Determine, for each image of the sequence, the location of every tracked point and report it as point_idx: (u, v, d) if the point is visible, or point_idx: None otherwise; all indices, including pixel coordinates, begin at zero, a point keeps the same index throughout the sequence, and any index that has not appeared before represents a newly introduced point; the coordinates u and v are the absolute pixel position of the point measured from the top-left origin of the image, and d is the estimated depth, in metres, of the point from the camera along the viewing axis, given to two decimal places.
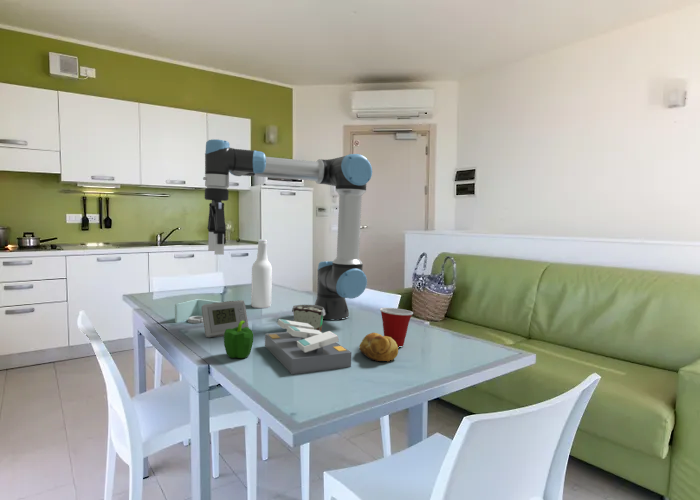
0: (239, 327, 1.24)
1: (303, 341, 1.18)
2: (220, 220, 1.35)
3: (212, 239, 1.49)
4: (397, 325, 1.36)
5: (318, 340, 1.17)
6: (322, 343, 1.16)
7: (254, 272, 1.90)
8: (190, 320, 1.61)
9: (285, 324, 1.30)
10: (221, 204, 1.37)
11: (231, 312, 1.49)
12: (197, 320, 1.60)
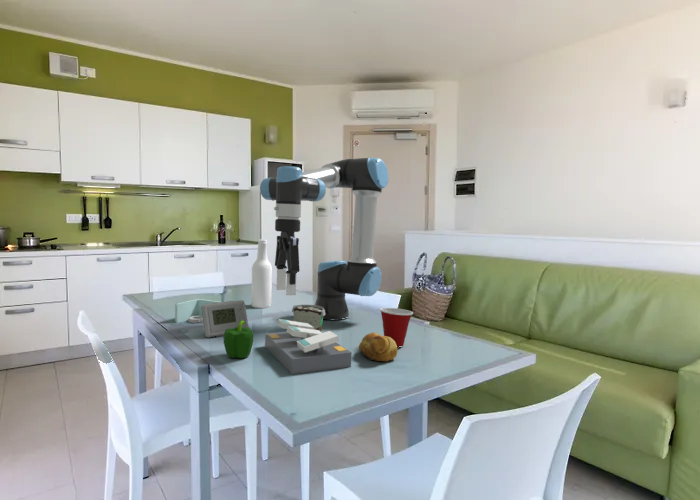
0: (239, 327, 1.24)
1: (303, 341, 1.18)
2: (294, 259, 1.25)
3: (281, 277, 1.36)
4: (397, 325, 1.36)
5: (318, 340, 1.17)
6: (322, 343, 1.16)
7: (254, 272, 1.90)
8: (191, 320, 1.61)
9: (285, 324, 1.30)
10: (296, 240, 1.26)
11: (231, 313, 1.48)
12: (197, 320, 1.61)
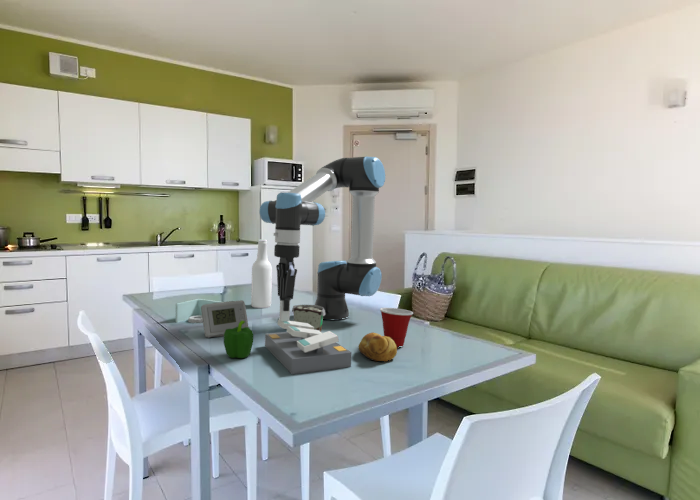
0: (239, 327, 1.24)
1: (303, 341, 1.18)
2: (290, 289, 1.28)
3: None
4: (397, 325, 1.36)
5: (318, 340, 1.17)
6: (322, 343, 1.16)
7: (254, 272, 1.90)
8: (191, 320, 1.61)
9: (285, 324, 1.30)
10: (294, 272, 1.27)
11: (231, 313, 1.48)
12: (198, 320, 1.61)
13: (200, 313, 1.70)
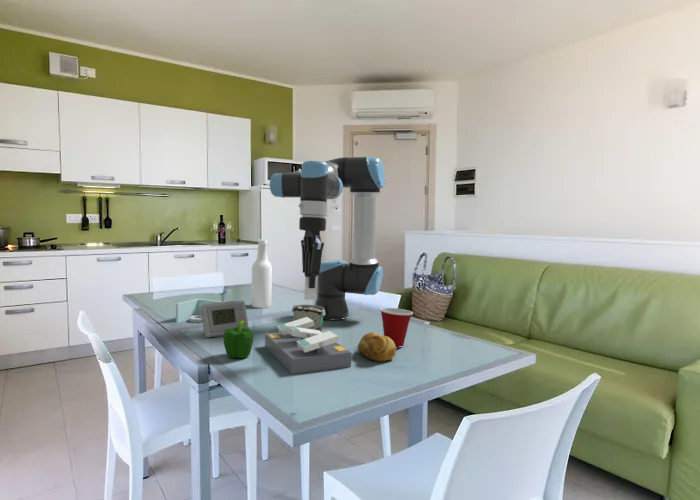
0: (239, 327, 1.24)
1: (303, 341, 1.18)
2: (316, 264, 1.20)
3: None
4: (397, 325, 1.36)
5: (318, 340, 1.17)
6: (322, 343, 1.16)
7: (254, 272, 1.90)
8: (191, 320, 1.61)
9: (284, 330, 1.30)
10: (321, 245, 1.18)
11: (231, 313, 1.48)
12: (198, 319, 1.61)
13: (200, 313, 1.70)
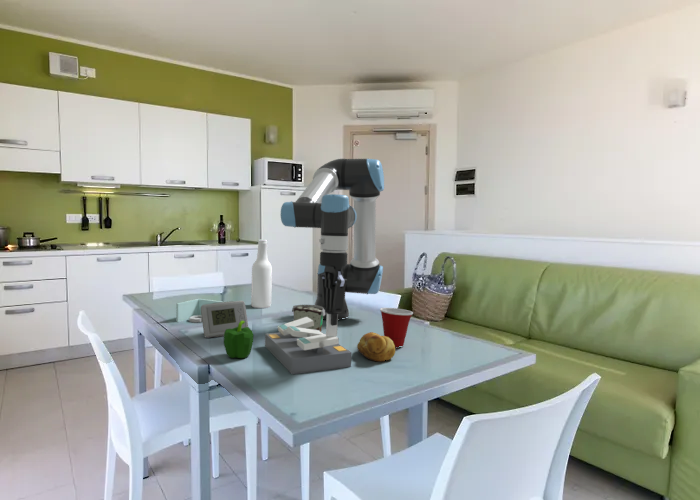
0: (239, 327, 1.24)
1: (303, 339, 1.18)
2: (339, 301, 1.16)
3: None
4: (397, 325, 1.36)
5: (318, 339, 1.17)
6: (322, 343, 1.17)
7: (254, 272, 1.90)
8: (192, 320, 1.62)
9: (284, 331, 1.30)
10: (344, 282, 1.14)
11: (231, 313, 1.48)
12: (198, 319, 1.61)
13: None
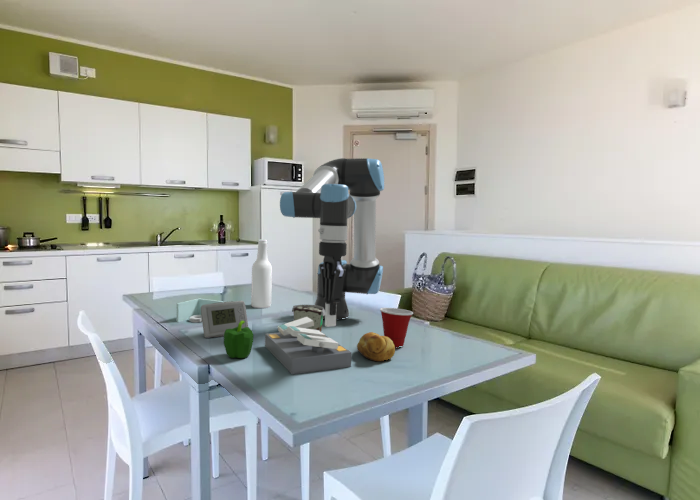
0: (239, 327, 1.24)
1: (305, 335, 1.18)
2: (338, 291, 1.16)
3: None
4: (397, 325, 1.36)
5: (319, 339, 1.18)
6: (323, 343, 1.17)
7: (254, 272, 1.90)
8: (192, 319, 1.62)
9: (284, 331, 1.30)
10: (343, 272, 1.14)
11: (231, 313, 1.48)
12: (198, 319, 1.62)
13: None
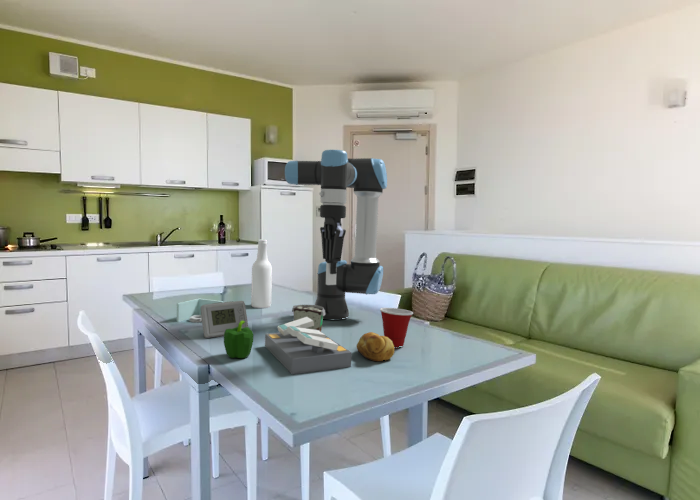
0: (239, 327, 1.24)
1: (305, 334, 1.18)
2: (338, 250, 1.24)
3: None
4: (397, 325, 1.36)
5: (319, 339, 1.18)
6: (323, 343, 1.17)
7: (254, 272, 1.90)
8: (192, 319, 1.62)
9: (284, 331, 1.30)
10: (343, 232, 1.22)
11: (230, 313, 1.48)
12: (199, 319, 1.62)
13: None
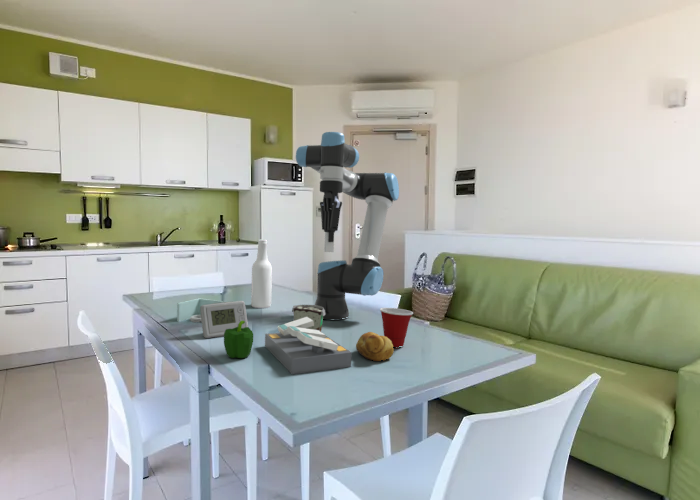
0: (239, 327, 1.24)
1: (305, 334, 1.18)
2: (335, 220, 1.40)
3: None
4: (397, 325, 1.36)
5: (319, 339, 1.18)
6: (323, 343, 1.17)
7: (254, 272, 1.90)
8: (193, 319, 1.62)
9: (284, 331, 1.30)
10: (339, 204, 1.38)
11: (230, 313, 1.47)
12: (199, 319, 1.62)
13: None
